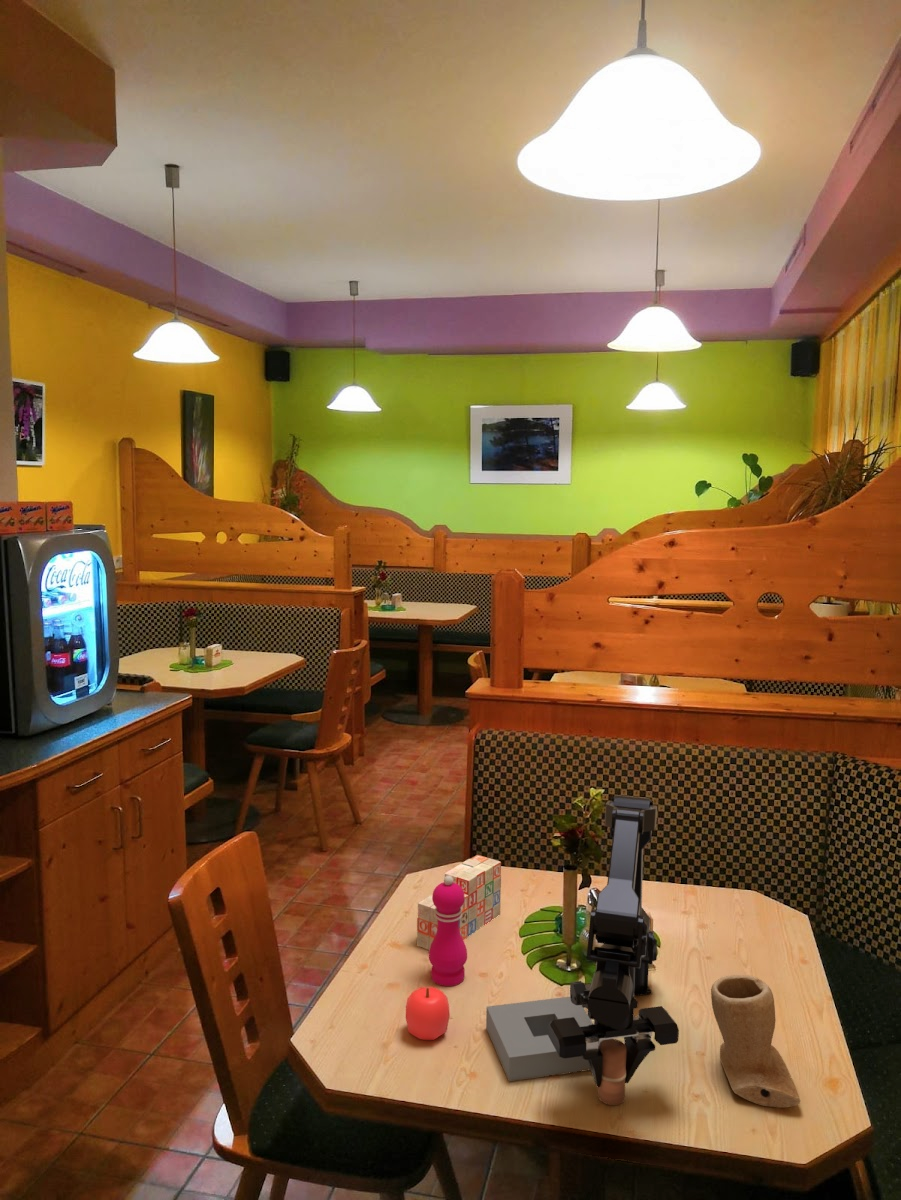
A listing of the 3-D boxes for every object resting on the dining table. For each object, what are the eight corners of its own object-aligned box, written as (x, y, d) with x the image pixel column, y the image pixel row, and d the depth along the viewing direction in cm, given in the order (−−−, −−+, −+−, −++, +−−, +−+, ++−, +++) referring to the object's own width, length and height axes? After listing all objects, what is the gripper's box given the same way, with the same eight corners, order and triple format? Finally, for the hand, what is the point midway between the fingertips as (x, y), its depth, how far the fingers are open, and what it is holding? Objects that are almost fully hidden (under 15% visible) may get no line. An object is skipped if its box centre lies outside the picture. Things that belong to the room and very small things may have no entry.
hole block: (575, 1017, 157) (575, 995, 156) (605, 1067, 143) (606, 1044, 143) (486, 1028, 153) (486, 1006, 153) (509, 1081, 140) (509, 1057, 139)
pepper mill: (463, 990, 165) (464, 886, 162) (424, 985, 166) (425, 882, 164) (470, 969, 172) (471, 869, 169) (433, 965, 173) (433, 866, 171)
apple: (441, 1051, 147) (441, 1005, 146) (396, 1041, 150) (396, 996, 149) (457, 1024, 154) (457, 980, 153) (414, 1014, 157) (414, 971, 156)
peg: (618, 1085, 138) (620, 1036, 137) (629, 1103, 134) (631, 1053, 133) (592, 1088, 137) (594, 1040, 136) (603, 1107, 133) (604, 1057, 132)
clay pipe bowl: (702, 1046, 149) (706, 961, 147) (776, 1052, 148) (781, 966, 146) (718, 1108, 134) (723, 1014, 132) (801, 1115, 133) (807, 1021, 131)
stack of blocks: (441, 956, 177) (441, 896, 175) (416, 946, 181) (416, 888, 179) (500, 915, 194) (501, 860, 192) (476, 906, 198) (477, 853, 196)
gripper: (649, 952, 143) (646, 1043, 145) (537, 965, 139) (535, 1058, 141) (682, 990, 133) (678, 1088, 135) (562, 1005, 129) (559, 1105, 131)
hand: (611, 1083), depth 136 cm, fingers closed on peg, 4 cm apart
